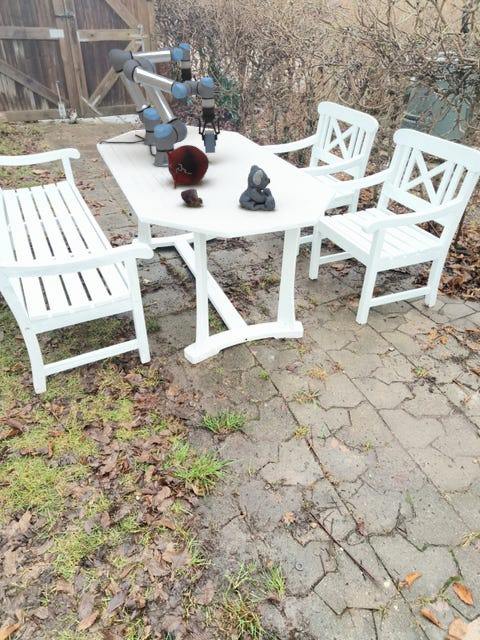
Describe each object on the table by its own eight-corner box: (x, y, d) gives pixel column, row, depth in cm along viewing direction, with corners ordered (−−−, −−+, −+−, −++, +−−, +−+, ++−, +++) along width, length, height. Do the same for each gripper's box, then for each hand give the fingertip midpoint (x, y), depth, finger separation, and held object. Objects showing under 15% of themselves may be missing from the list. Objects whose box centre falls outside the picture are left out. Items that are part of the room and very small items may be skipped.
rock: (196, 202, 238) (178, 205, 233) (194, 185, 234) (176, 188, 230) (205, 205, 228) (187, 208, 224) (203, 188, 224) (185, 191, 220)
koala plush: (276, 211, 223) (277, 171, 212) (240, 212, 222) (240, 172, 211) (271, 199, 237) (272, 161, 226) (237, 200, 236) (237, 162, 225)
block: (215, 152, 287) (214, 133, 280) (205, 153, 286) (204, 133, 280) (214, 149, 294) (214, 130, 288) (205, 149, 294) (204, 130, 287)
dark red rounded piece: (166, 150, 266) (161, 149, 242) (205, 142, 265) (203, 139, 241) (175, 187, 273) (171, 189, 249) (213, 178, 272) (212, 180, 248)
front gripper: (223, 105, 279) (224, 143, 292) (192, 105, 278) (195, 144, 291) (224, 107, 273) (225, 146, 286) (192, 107, 272) (195, 147, 285)
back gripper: (202, 67, 338) (204, 98, 350) (169, 67, 337) (172, 98, 349) (202, 68, 332) (203, 99, 344) (168, 68, 331) (171, 100, 343)
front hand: (210, 145), depth 288 cm, fingers closed on block, 6 cm apart
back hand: (187, 99), depth 346 cm, fingers open, 13 cm apart
